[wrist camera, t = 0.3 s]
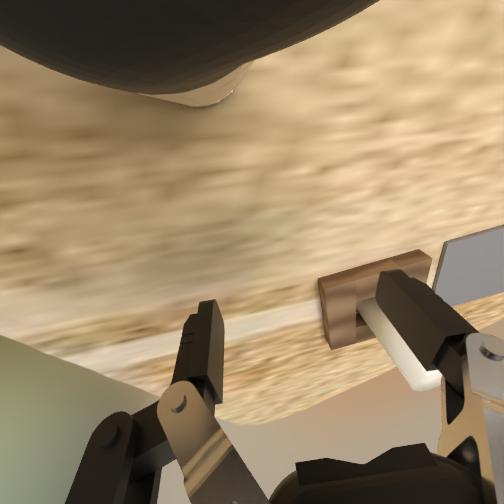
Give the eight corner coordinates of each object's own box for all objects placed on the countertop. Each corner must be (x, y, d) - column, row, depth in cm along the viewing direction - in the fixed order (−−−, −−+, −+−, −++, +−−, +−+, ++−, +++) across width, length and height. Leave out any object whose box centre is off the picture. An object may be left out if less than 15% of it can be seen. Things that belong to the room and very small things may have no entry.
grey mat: (444, 241, 34) (448, 243, 33) (549, 211, 33) (554, 213, 33) (426, 310, 43) (428, 312, 42) (509, 287, 42) (512, 289, 42)
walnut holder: (318, 278, 35) (324, 289, 32) (419, 249, 34) (432, 258, 32) (325, 338, 43) (331, 350, 41) (406, 316, 43) (415, 326, 41)
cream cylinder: (353, 293, 37) (415, 376, 26) (381, 285, 37) (456, 365, 26) (353, 311, 40) (409, 394, 28) (379, 304, 40) (446, 384, 28)
